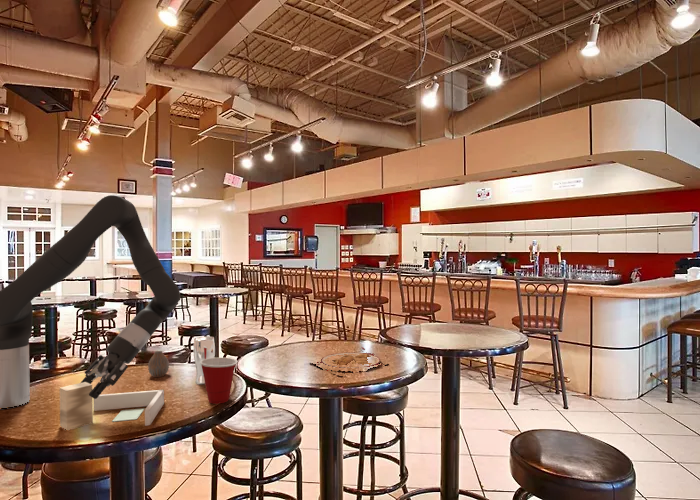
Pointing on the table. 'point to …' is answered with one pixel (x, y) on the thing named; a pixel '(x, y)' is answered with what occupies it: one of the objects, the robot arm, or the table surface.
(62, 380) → the table surface
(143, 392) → the corner arena
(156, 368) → the vase
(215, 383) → the plastic cup
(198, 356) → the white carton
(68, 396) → the maple block
